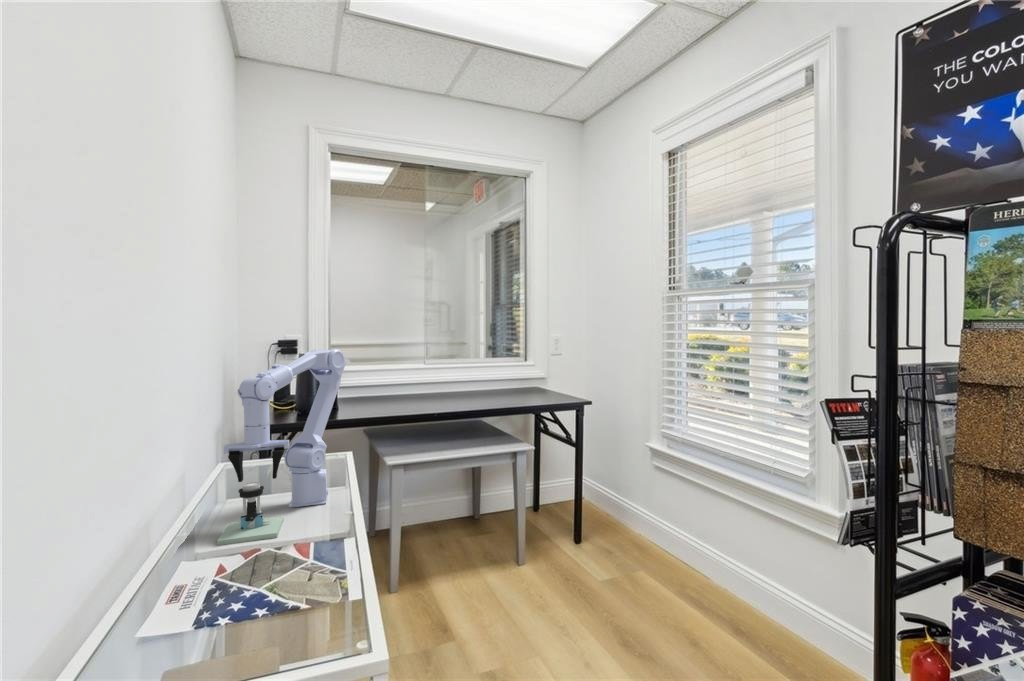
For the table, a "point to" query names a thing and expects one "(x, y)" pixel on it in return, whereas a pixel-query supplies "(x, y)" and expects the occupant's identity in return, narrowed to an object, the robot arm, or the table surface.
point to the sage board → (251, 532)
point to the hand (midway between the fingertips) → (257, 479)
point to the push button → (251, 506)
